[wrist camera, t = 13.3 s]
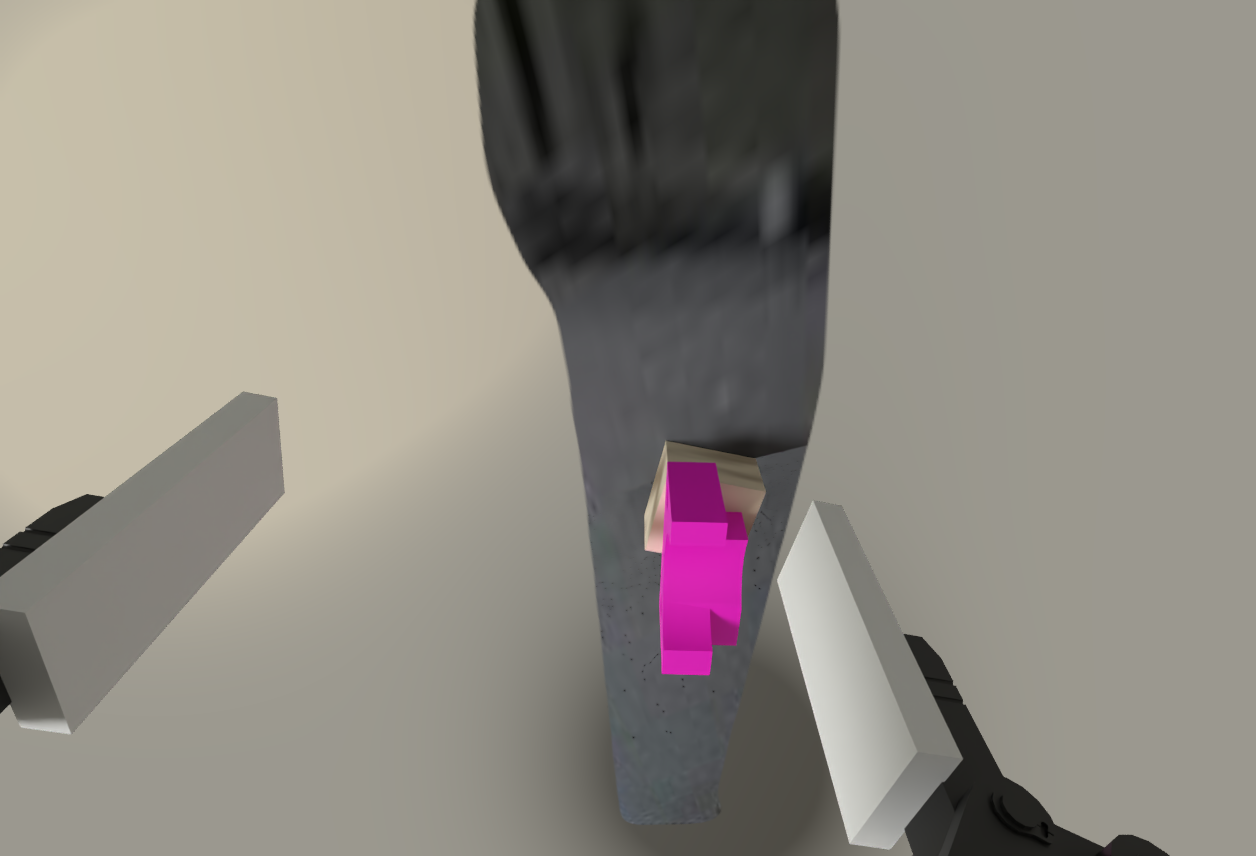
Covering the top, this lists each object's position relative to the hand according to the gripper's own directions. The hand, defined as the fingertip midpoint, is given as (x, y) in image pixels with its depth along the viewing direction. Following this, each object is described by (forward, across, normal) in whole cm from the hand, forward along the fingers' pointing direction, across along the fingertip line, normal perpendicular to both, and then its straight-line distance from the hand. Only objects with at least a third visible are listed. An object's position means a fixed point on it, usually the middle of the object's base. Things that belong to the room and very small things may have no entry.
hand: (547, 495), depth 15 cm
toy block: (+28, +12, -22) cm, 37 cm away
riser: (+32, +12, -20) cm, 40 cm away
